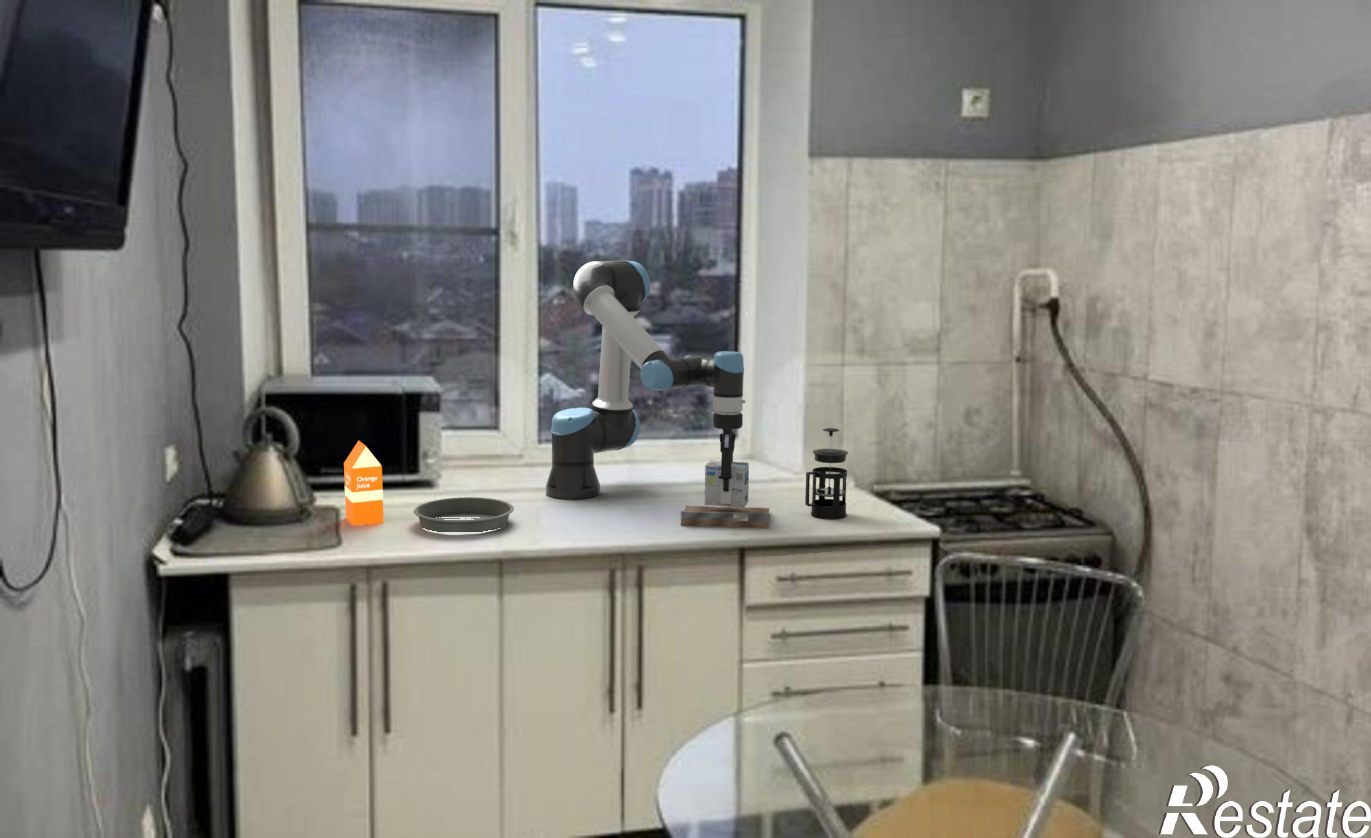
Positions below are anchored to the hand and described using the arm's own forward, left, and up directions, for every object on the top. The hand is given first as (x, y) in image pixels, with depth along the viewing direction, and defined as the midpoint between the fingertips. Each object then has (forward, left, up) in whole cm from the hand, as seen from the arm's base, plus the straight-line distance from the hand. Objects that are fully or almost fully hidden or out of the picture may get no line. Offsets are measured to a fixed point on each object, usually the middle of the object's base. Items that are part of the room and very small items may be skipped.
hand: (726, 499), depth 307 cm
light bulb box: (0, 0, -1) cm, 1 cm away
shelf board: (0, -3, -4) cm, 5 cm away
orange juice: (-91, -15, -5) cm, 92 cm away
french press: (+26, +4, -5) cm, 27 cm away
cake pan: (-65, -16, -5) cm, 67 cm away
